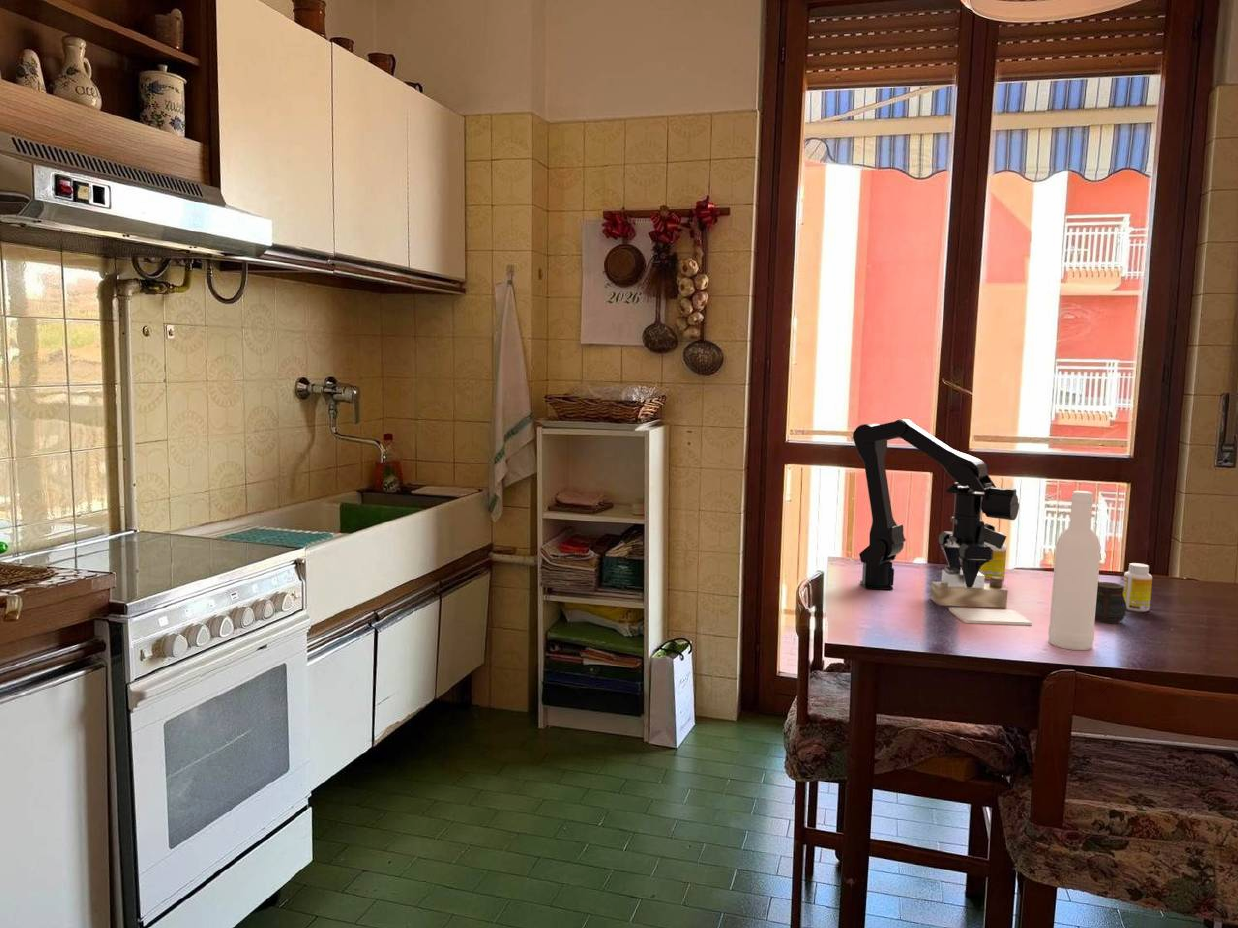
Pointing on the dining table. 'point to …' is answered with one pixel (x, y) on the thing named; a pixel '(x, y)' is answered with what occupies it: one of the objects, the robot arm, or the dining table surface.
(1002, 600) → the body
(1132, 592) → the supplement bottle
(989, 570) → the supplement bottle
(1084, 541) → the bottle
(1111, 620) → the mate gourd
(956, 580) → the lever cap
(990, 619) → the board
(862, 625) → the dining table surface
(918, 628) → the dining table surface
